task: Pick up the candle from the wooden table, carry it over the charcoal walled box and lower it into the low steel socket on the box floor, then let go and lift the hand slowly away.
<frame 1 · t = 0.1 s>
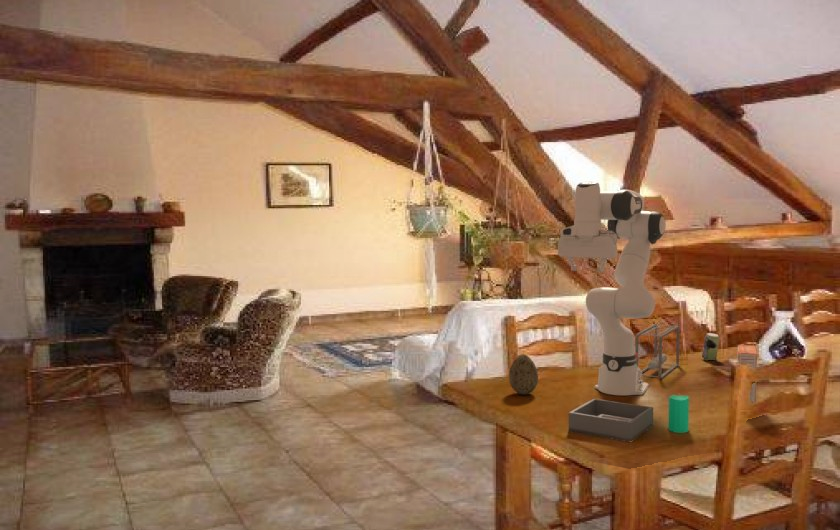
hand: (587, 271, 260), 48 cm above the table, tool pointing down, fingers open, 8 cm apart
beverage can: (710, 360, 342), on the table
walled box: (611, 428, 244), on the table
newton's cradle: (657, 371, 322), on the table
decorative egg: (523, 394, 287), on the table
cracker box: (745, 409, 264), on the table
candle: (678, 430, 241), on the table
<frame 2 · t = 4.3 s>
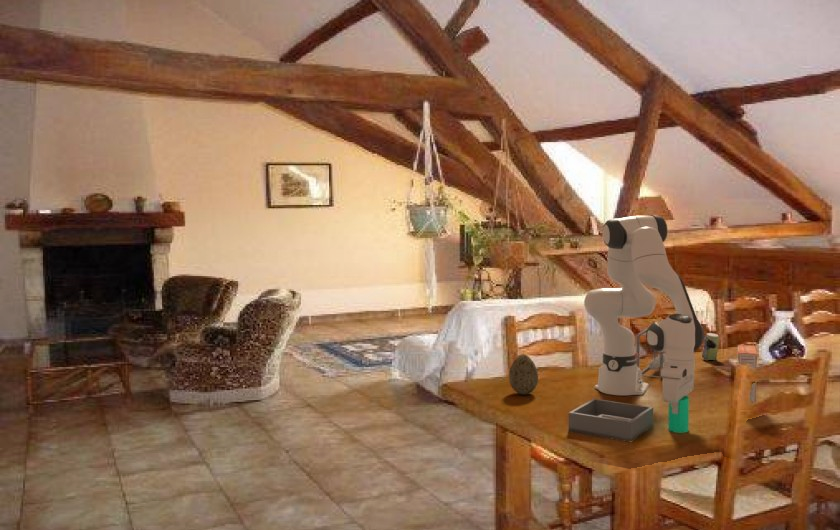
hand: (678, 410, 241), 6 cm above the table, tool pointing down, fingers closed on candle, 5 cm apart
candle: (678, 430, 241), on the table, touching gripper
everything else where it was.
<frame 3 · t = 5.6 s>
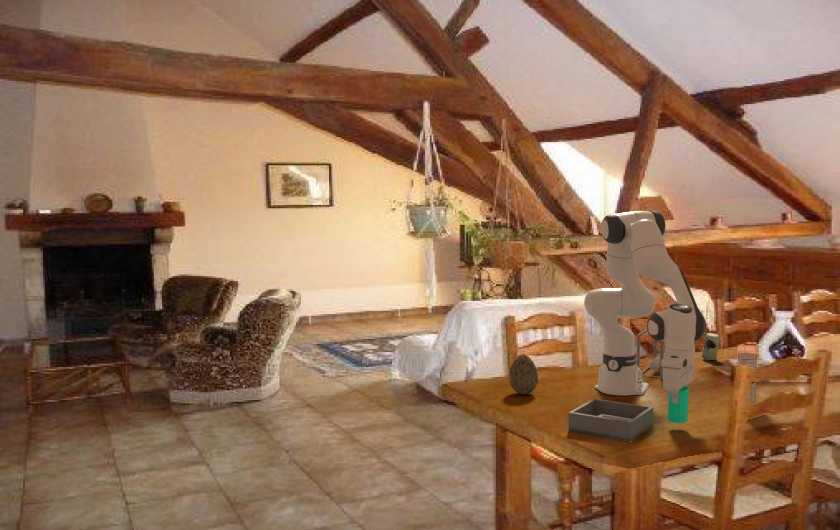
hand: (678, 400, 241), 9 cm above the table, tool pointing down, fingers closed on candle, 5 cm apart
candle: (677, 420, 242), point 3 cm above the table, touching gripper
everything else where it was.
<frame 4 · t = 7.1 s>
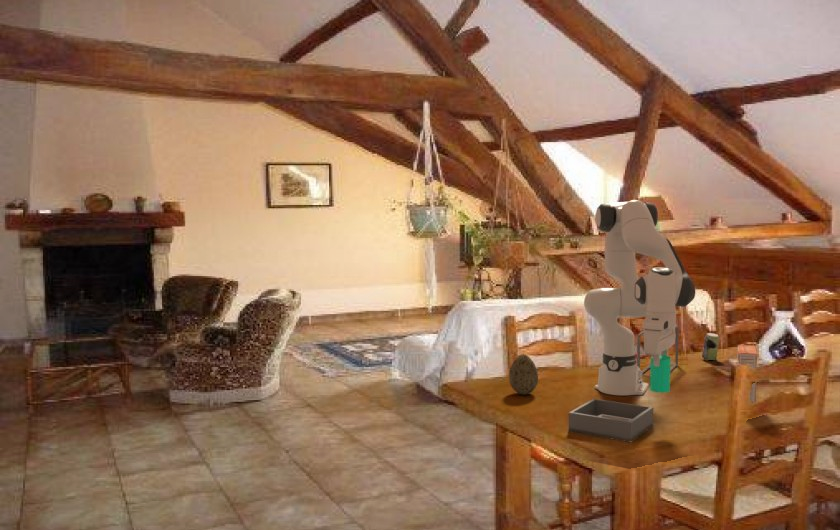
hand: (660, 364, 240), 21 cm above the table, tool pointing down, fingers closed on candle, 5 cm apart
candle: (659, 390, 241), point 12 cm above the table, touching gripper
everything else where it was.
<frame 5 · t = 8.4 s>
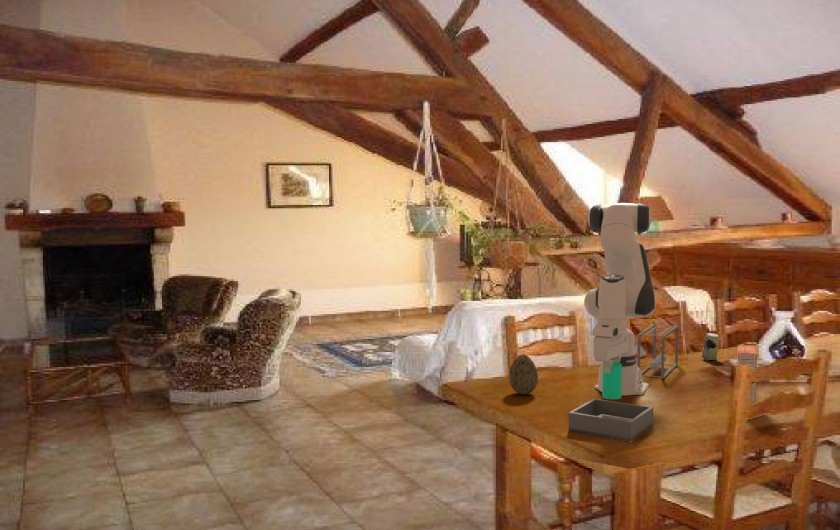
hand: (611, 370, 242), 19 cm above the table, tool pointing down, fingers closed on candle, 5 cm apart
candle: (611, 397, 243), point 10 cm above the table, touching gripper
everything else where it was.
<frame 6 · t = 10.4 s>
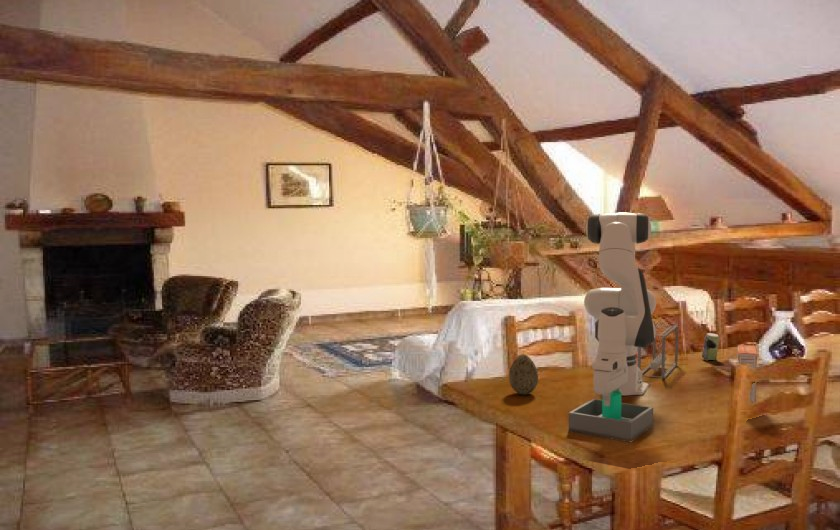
hand: (611, 403, 243), 8 cm above the table, tool pointing down, fingers closed on candle, 5 cm apart
candle: (611, 426, 243), point 1 cm above the table, touching gripper, walled box
everything else where it was.
when the fingers open (8 cm above the table, at t = 10.8 s): candle stays where it is, resting on walled box.
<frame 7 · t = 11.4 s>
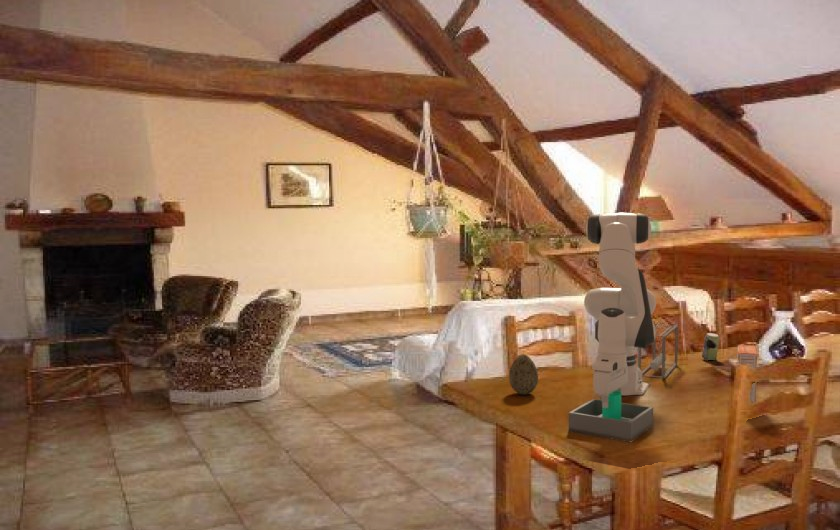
hand: (611, 403, 243), 8 cm above the table, tool pointing down, fingers open, 8 cm apart
candle: (611, 426, 243), point 1 cm above the table, touching walled box
everything else where it was.
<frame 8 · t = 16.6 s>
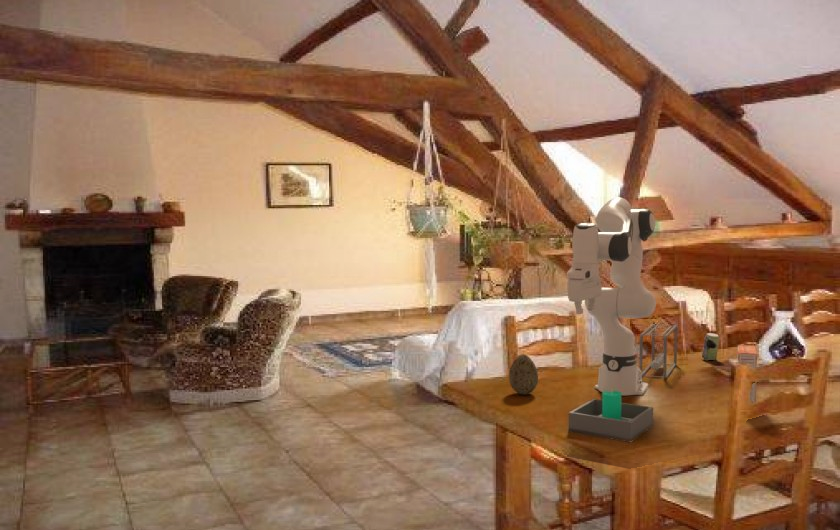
hand: (585, 312, 261), 34 cm above the table, tool pointing down, fingers open, 8 cm apart
nothing on the table moved.
at the end: candle 0.1 cm off-centre on the walled box, point 0.8 cm above the walled box's base; candle tilted 0°; the gripper is holding nothing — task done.
